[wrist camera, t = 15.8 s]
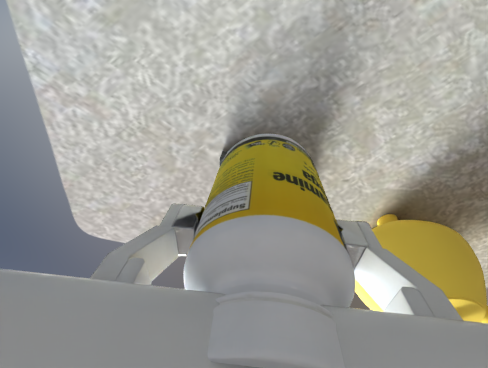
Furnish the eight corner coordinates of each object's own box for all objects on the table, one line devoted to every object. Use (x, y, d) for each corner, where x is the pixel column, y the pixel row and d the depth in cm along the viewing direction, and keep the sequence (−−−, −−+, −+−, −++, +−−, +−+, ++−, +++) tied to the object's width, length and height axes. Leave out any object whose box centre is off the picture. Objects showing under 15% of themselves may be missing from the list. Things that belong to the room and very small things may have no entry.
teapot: (496, 235, 33) (619, 341, 21) (413, 288, 41) (471, 385, 30) (383, 188, 30) (456, 281, 18) (319, 255, 38) (342, 348, 27)
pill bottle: (331, 182, 15) (442, 424, 5) (257, 222, 17) (248, 435, 8) (278, 107, 12) (314, 309, 3) (201, 166, 15) (95, 374, 6)
